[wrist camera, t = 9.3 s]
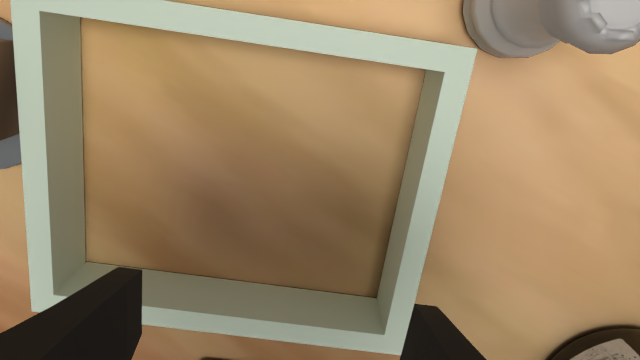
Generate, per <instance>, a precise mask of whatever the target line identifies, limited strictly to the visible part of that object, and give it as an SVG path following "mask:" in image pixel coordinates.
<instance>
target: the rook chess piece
mask: <svg viewBox="0 0 640 360" xmlns="http://www.w3.org/2000/svg"><path fill="white" fill-rule="evenodd" d="M463 16H464V20H465V24H466V28H467V31H468V34H469V35H470V36H471V38H472V39H473V40H474V41H475V43H476V44H477V45H478V46H479V47H480V49H482V50H484V51H486V52H488V53H490V54H492V55H494V56H496V57H502V58H528V57H531V56H533V55H536V54H539V53H541V52H544V51H547V50H549V49H551V48H552V47H553V46H555V45H556V44H557V43H558V42H559V41H562V42H564V43H570V44H571V45H573V46H575V47H577V48H579V49H581V50H583V51H585V52H587V53H590V54H613V53H615V52H618V51H621V50H624V49H626V48H629V47H632V46H634V45H635V44H636V43H638V42H639V41H640V0H464V4H463Z"/></svg>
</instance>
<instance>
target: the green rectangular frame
mask: <svg viewBox="0 0 640 360" xmlns="http://www.w3.org/2000/svg"><path fill="white" fill-rule="evenodd" d="M10 1H11V16H12V30H13V45H14V59H15V74H16V88H17V103H18V118H19V132H20V147H21V161H22V176H23V190H24V205H25V220H26V234H27V249H28V263H29V278H30V292H31V307H32V311H34V312H42V311H44V310H46V309H48V308H50V307H51V306H53V305H55V304H57V303H58V302H60V301H62V300H63V299H65V298H67V297H69V296H70V295H72V294H74V293H75V292H77V291H79V290H80V289H82V288H84V287H85V286H87V285H89V284H90V283H92V282H94V281H95V280H97V279H98V278H100V277H102V276H103V275H105V274H107V273H108V272H110V271H112V270H114V269H116V268H117V267H124V266H116V265H108V264H100V263H92V262H86V248H85V204H84V160H83V116H82V72H81V28H80V17H84V18H90V19H97V20H104V21H110V22H117V23H123V24H130V25H137V26H143V27H150V28H156V29H163V30H170V31H176V32H183V33H190V34H196V35H203V36H209V37H216V38H223V39H229V40H236V41H243V42H249V43H256V44H262V45H269V46H276V47H282V48H289V49H295V50H302V51H309V52H315V53H322V54H329V55H335V56H342V57H348V58H355V59H362V60H368V61H375V62H382V63H388V64H395V65H401V66H408V67H415V68H421V69H426V73H425V77H424V82H423V87H422V91H421V96H420V100H419V105H418V110H417V114H416V119H415V124H414V128H413V133H412V137H411V142H410V147H409V151H408V156H407V161H406V165H405V170H404V174H403V179H402V184H401V188H400V193H399V198H398V202H397V207H396V211H395V216H394V221H393V225H392V230H391V235H390V239H389V244H388V248H387V253H386V258H385V262H384V267H383V272H382V276H381V281H380V286H379V290H378V295H377V298H371V297H363V296H355V295H347V294H339V293H331V292H323V291H315V290H307V289H299V288H291V287H283V286H275V285H267V284H259V283H251V282H244V281H236V280H228V279H220V278H212V277H204V276H196V275H188V274H180V273H172V272H164V271H156V270H148V269H141V270H142V324H143V325H151V326H160V327H168V328H176V329H185V330H193V331H201V332H210V333H218V334H226V335H235V336H243V337H252V338H260V339H268V340H277V341H285V342H293V343H302V344H310V345H318V346H327V347H335V348H343V349H352V350H360V351H369V352H377V353H385V354H394V355H401V353H402V349H403V346H404V342H405V338H406V334H407V330H408V326H409V322H410V319H411V315H412V311H413V307H414V303H415V299H416V295H417V290H418V286H419V282H420V278H421V274H422V270H423V266H424V262H425V258H426V254H427V250H428V246H429V242H430V238H431V234H432V230H433V226H434V222H435V218H436V214H437V210H438V206H439V202H440V198H441V194H442V190H443V186H444V182H445V178H446V174H447V170H448V166H449V162H450V157H451V153H452V149H453V145H454V141H455V137H456V133H457V129H458V125H459V121H460V117H461V113H462V109H463V105H464V101H465V97H466V93H467V89H468V85H469V81H470V77H471V73H472V69H473V65H474V61H475V57H476V53H477V49H476V48H470V47H464V46H458V45H452V44H445V43H439V42H432V41H426V40H419V39H413V38H406V37H400V36H393V35H387V34H381V33H374V32H368V31H361V30H355V29H348V28H342V27H335V26H329V25H322V24H316V23H309V22H303V21H296V20H290V19H283V18H277V17H270V16H264V15H257V14H251V13H244V12H238V11H231V10H225V9H218V8H212V7H205V6H199V5H192V4H186V3H179V2H173V1H166V0H10ZM125 268H132V267H125ZM133 269H140V268H133Z"/></svg>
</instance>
